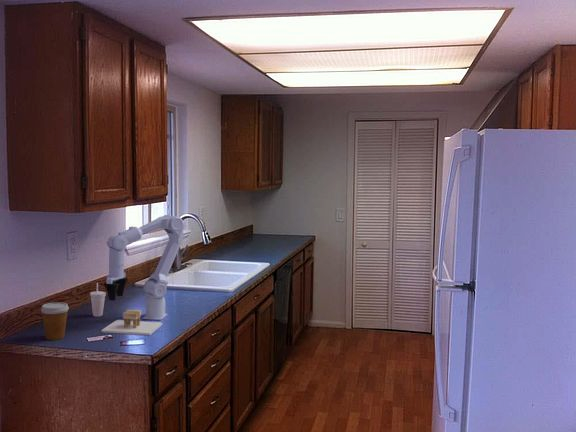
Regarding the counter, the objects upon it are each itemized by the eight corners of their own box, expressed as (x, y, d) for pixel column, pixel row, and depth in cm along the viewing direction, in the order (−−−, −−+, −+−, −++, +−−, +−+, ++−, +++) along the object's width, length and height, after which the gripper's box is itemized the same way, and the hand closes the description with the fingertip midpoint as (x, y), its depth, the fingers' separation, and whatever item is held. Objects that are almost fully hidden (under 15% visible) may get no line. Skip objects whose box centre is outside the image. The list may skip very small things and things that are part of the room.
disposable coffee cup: (36, 336, 205) (36, 304, 204) (62, 332, 211) (62, 300, 210) (46, 343, 198) (46, 309, 197) (73, 338, 204) (73, 305, 203)
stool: (127, 323, 222) (128, 309, 222) (141, 324, 222) (141, 310, 221) (122, 327, 217) (122, 313, 216) (136, 328, 216) (136, 313, 216)
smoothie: (100, 312, 241) (100, 280, 239) (108, 315, 237) (109, 283, 235) (86, 315, 236) (87, 282, 234) (95, 318, 232) (95, 285, 230)
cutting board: (117, 321, 228) (117, 319, 228) (162, 324, 226) (162, 322, 226) (101, 332, 213) (101, 330, 213) (149, 335, 211) (149, 333, 211)
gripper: (114, 261, 231) (113, 293, 232) (99, 267, 216) (98, 301, 217) (130, 262, 230) (130, 294, 231) (116, 268, 216) (116, 302, 217)
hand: (116, 298), depth 224 cm, fingers open, 7 cm apart
